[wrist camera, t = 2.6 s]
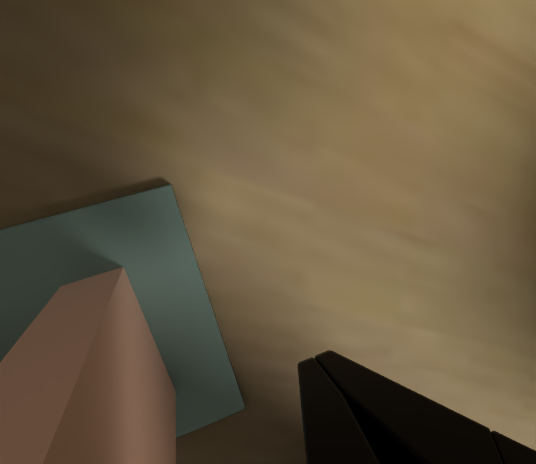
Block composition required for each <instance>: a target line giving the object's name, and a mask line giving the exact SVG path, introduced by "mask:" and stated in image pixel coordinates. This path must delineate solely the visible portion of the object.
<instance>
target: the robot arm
mask: <svg viewBox="0 0 536 464" xmlns="http://www.w3.org/2000/svg"><path fill="white" fill-rule="evenodd" d="M298 376H299V387H300V398H301V409H302V420H303V431H304V442H305V453H306V463H307V464H536V451H535V450H533V449H531V448H529V447H527V446H525V445H522V444H520V443H518V442H516V441H514V440H512V439H510V438H508V437H506V436H504V435H502V434H500V433H498V432H496V431H492V432H491V431H490V430H489V428H487V427H485V426H483V425H481V424H479V423H477V422H475V421H473V420H471V419H469V418H467V417H465V416H463V415H461V414H459V413H457V412H455V411H453V410H451V409H449V408H447V407H445V406H443V405H441V404H439V403H437V402H435V401H433V400H431V399H429V398H427V397H425V396H423V395H421V394H418V393H416V392H414V391H412V390H410V389H408V388H406V387H404V386H402V385H400V384H398V383H396V382H394V381H392V380H390V379H388V378H386V377H384V376H382V375H380V374H378V373H376V372H374V371H372V370H370V369H368V368H366V367H364V366H362V365H360V364H358V363H356V362H354V361H352V360H350V359H348V358H346V357H344V356H341V355H339V354H337V353H335V352H333V351H330V350H329V351H326V352H323V353H321V354H318V355H316V356H315V358H312V357H311V358H309V359H306V360H304V361H301V362H299V363H298Z"/></svg>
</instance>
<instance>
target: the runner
mask: <svg viewBox="0 0 536 464" xmlns="http://www.w3.org/2000/svg"><path fill="white" fill-rule="evenodd" d="M121 267H124V269H125V272H126V274H127V277H128V279H129V281H130V284H131V286H132V288H133V291H134V293H135V296H136V298H137V300H138V303H139V305H140V307H141V310H142V312H143V315H144V317H145V319H146V322H147V324H148V327H149V329H150V331H151V334H152V336H153V338H154V341H155V343H156V346H157V348H158V350H159V353H160V355H161V358H162V360H163V362H164V365H165V367H166V369H167V372H168V374H169V377H170V379H171V381H172V384H173V386H174V388H175V391H176V438H178V437H181V436H183V435H185V434H188V433H190V432H192V431H195V430H197V429H199V428H202V427H204V426H206V425H209V424H211V423H213V422H216V421H218V420H220V419H223V418H225V417H227V416H230V415H232V414H234V413H237V412H239V411H241V410H243V409H245V405H244V402H243V399H242V396H241V393H240V390H239V387H238V384H237V381H236V378H235V375H234V372H233V369H232V366H231V363H230V360H229V357H228V354H227V351H226V348H225V345H224V342H223V339H222V336H221V333H220V330H219V327H218V324H217V321H216V318H215V315H214V312H213V309H212V306H211V303H210V300H209V297H208V294H207V291H206V288H205V285H204V282H203V279H202V276H201V273H200V270H199V267H198V264H197V261H196V258H195V255H194V252H193V249H192V246H191V243H190V240H189V237H188V234H187V231H186V228H185V225H184V222H183V219H182V216H181V213H180V210H179V207H178V204H177V201H176V198H175V195H174V192H173V189H172V186H171V184H169V185H165V186H161V187H157V188H154V189H150V190H146V191H142V192H139V193H135V194H131V195H128V196H124V197H120V198H116V199H113V200H109V201H105V202H101V203H98V204H94V205H90V206H87V207H83V208H79V209H75V210H72V211H68V212H64V213H61V214H57V215H53V216H49V217H46V218H42V219H38V220H34V221H31V222H27V223H23V224H20V225H16V226H12V227H8V228H5V229H1V230H0V362H1V361H2V360H3V358H4V357H5V356H6V354H7V353H8V352H9V351H10V349H11V348H12V347H13V346H14V344H15V343H16V342H17V341H18V339H19V338H20V337H21V336H22V334H23V333H24V332H25V331H26V329H27V328H28V327H29V326H30V324H31V323H32V322H33V321H34V319H35V318H36V317H37V316H38V314H39V313H40V312H41V311H42V309H43V308H44V307H45V306H46V304H47V303H48V302H49V300H50V299H51V298H52V297H53V295H54V294H55V293H56V292H57V290H58V289H59V288H60V287H61V286H63V285H67V284H70V283H73V282H76V281H79V280H83V279H86V278H89V277H92V276H96V275H99V274H102V273H105V272H108V271H112V270H115V269H118V268H121Z"/></svg>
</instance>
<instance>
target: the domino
mask: <svg viewBox="0 0 536 464" xmlns="http://www.w3.org/2000/svg"><path fill="white" fill-rule="evenodd" d="M0 464H176V391H175V388H174V386H173V384H172V381H171V379H170V377H169V374H168V372H167V369H166V367H165V365H164V362H163V360H162V358H161V355H160V353H159V350H158V348H157V346H156V343H155V341H154V338H153V336H152V334H151V331H150V329H149V327H148V324H147V322H146V319H145V317H144V315H143V312H142V310H141V307H140V305H139V303H138V300H137V298H136V296H135V293H134V291H133V288H132V286H131V284H130V281H129V279H128V277H127V274H126V272H125V269H124V267H121V268H118V269H115V270H112V271H108V272H105V273H102V274H99V275H96V276H92V277H89V278H86V279H83V280H79V281H76V282H73V283H70V284H67V285H63V286H61V287H60V288H59V289H58V290H57V292H56V293H55V294H54V295H53V297H52V298H51V299H50V300H49V302H48V303H47V304H46V306H45V307H44V308H43V309H42V311H41V312H40V313H39V314H38V316H37V317H36V318H35V319H34V321H33V322H32V323H31V324H30V326H29V327H28V328H27V329H26V331H25V332H24V333H23V334H22V336H21V337H20V338H19V339H18V341H17V342H16V343H15V344H14V346H13V347H12V348H11V349H10V351H9V352H8V353H7V354H6V356H5V357H4V358H3V360H2V361H1V362H0Z"/></svg>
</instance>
